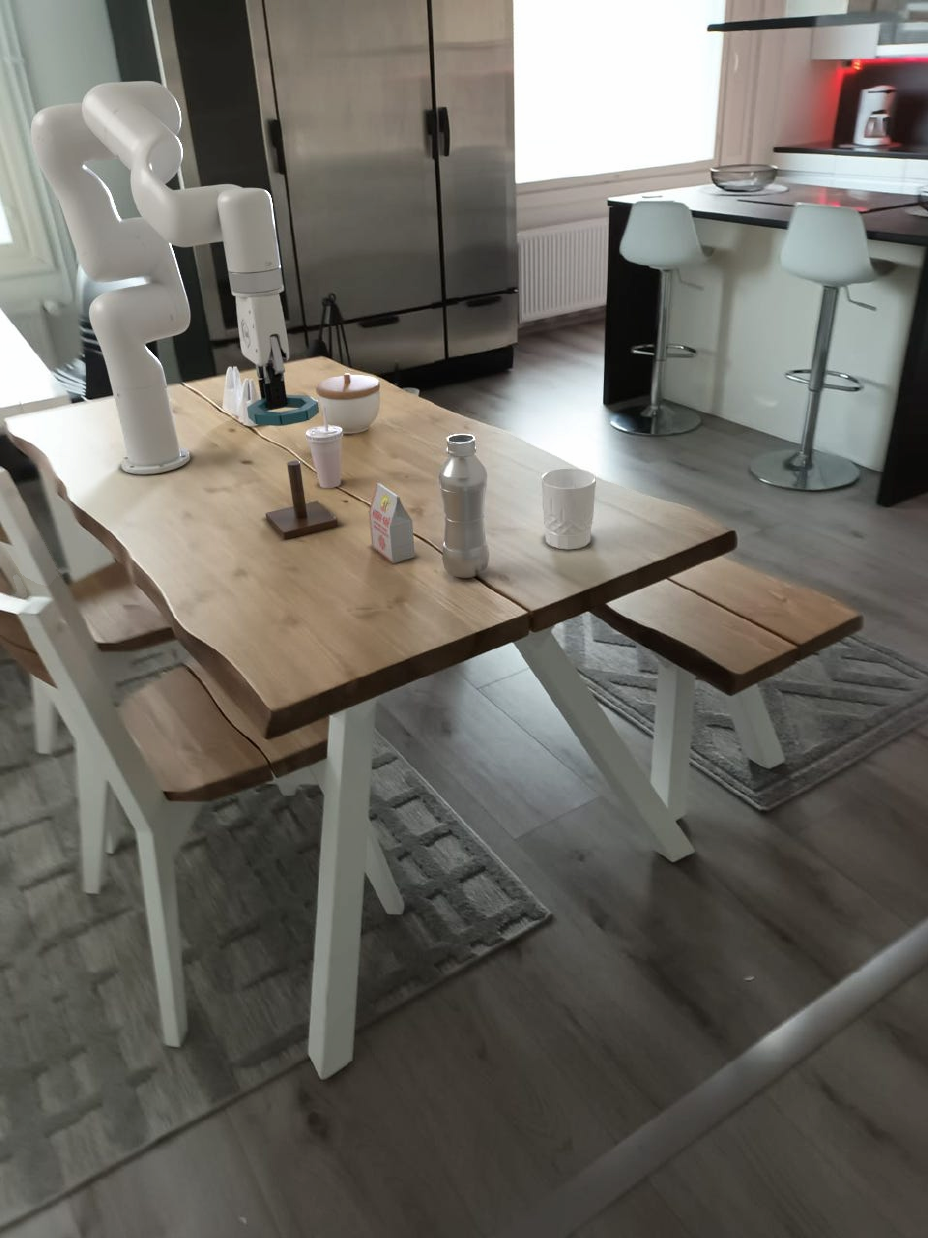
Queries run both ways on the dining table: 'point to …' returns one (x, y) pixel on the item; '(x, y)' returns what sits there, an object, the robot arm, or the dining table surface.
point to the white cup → (568, 507)
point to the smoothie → (326, 452)
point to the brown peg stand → (300, 510)
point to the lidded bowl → (350, 401)
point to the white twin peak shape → (239, 396)
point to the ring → (304, 413)
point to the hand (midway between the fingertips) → (274, 404)
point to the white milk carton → (390, 526)
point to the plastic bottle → (464, 508)
